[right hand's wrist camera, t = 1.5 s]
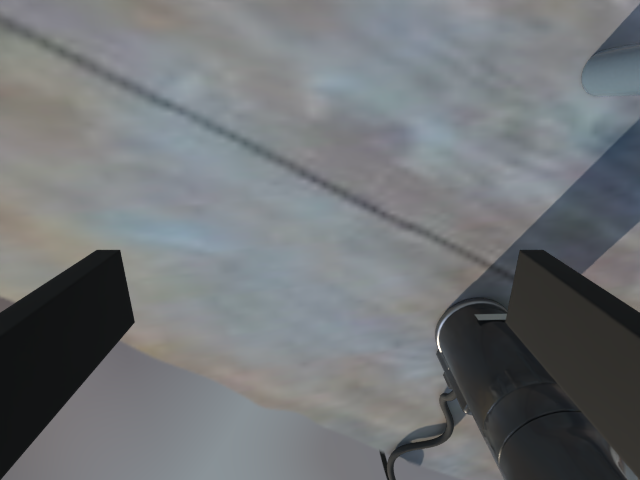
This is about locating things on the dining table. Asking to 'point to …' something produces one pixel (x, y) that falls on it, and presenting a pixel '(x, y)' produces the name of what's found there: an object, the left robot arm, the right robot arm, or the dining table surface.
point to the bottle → (613, 72)
